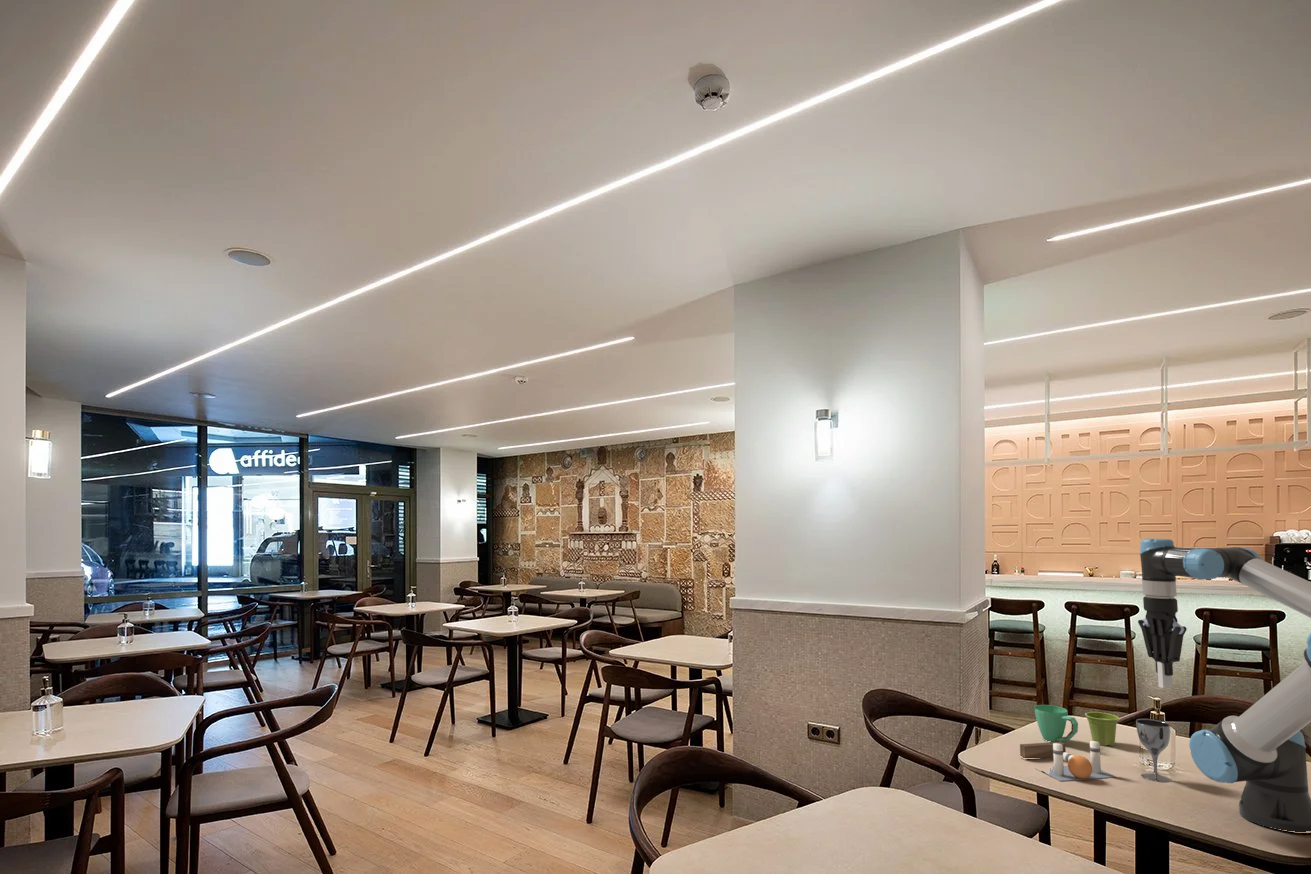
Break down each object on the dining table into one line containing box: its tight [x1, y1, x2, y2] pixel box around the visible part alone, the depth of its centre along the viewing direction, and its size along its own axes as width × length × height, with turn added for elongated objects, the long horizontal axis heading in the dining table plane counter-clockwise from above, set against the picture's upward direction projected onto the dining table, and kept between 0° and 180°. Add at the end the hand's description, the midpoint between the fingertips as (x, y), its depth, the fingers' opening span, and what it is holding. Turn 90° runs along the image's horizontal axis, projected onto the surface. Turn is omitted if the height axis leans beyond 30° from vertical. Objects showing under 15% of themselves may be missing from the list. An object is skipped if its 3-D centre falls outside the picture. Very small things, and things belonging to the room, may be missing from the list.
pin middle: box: [1063, 751, 1074, 763], centre depth 214 cm, size 2×2×8 cm
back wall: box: [1019, 741, 1067, 759], centre depth 221 cm, size 2×14×4 cm, turn 100°
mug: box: [1033, 704, 1079, 742], centre depth 236 cm, size 15×10×10 cm
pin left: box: [1053, 743, 1065, 776], centre depth 207 cm, size 2×2×8 cm
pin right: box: [1089, 740, 1102, 774], centre depth 209 cm, size 2×2×8 cm
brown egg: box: [1067, 754, 1092, 779], centre depth 205 cm, size 6×6×6 cm
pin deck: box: [1047, 765, 1117, 782], centre depth 208 cm, size 10×18×1 cm, turn 100°
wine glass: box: [1135, 718, 1172, 783], centre depth 206 cm, size 8×8×15 cm
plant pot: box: [1084, 711, 1120, 747], centre depth 236 cm, size 9×9×9 cm
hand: (1165, 687), depth 193 cm, fingers closed
